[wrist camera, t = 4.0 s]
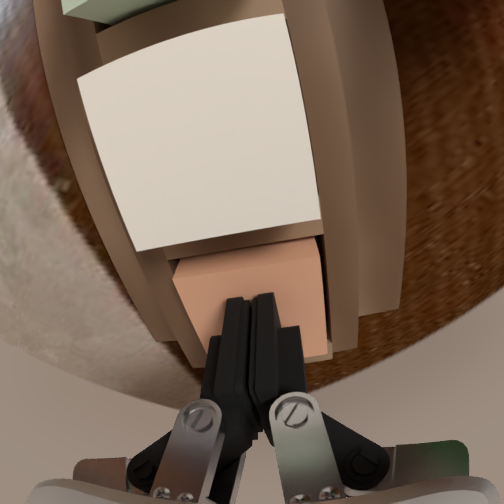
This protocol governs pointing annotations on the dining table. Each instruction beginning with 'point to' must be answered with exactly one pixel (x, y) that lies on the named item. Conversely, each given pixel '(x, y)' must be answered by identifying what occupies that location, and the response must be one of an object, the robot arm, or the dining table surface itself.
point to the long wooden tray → (321, 140)
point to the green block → (109, 9)
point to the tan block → (257, 287)
